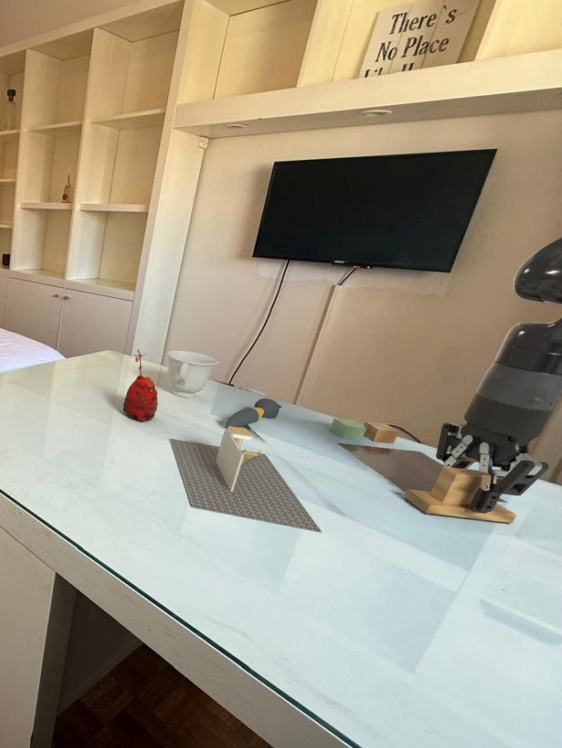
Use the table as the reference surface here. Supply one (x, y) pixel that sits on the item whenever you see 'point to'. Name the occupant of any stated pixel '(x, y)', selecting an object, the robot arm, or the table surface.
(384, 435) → the wooden cube
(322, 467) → the table surface
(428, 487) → the brown flat mat
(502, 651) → the table surface
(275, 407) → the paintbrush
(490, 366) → the robot arm
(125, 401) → the red clay folk toy
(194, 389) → the teacup
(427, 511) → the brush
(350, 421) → the sage cube
